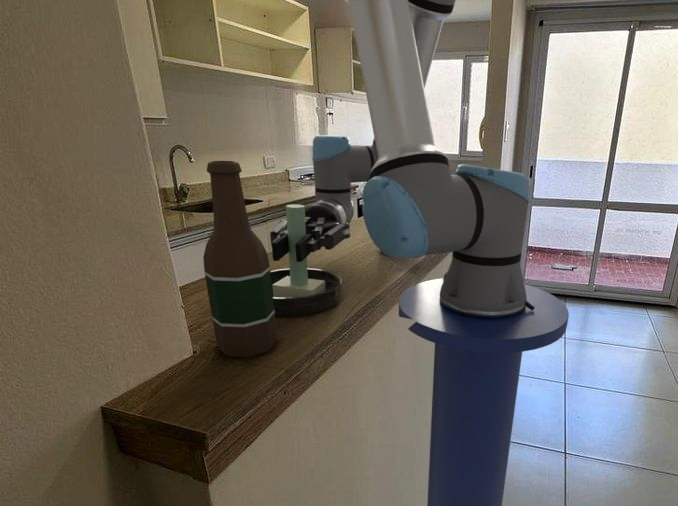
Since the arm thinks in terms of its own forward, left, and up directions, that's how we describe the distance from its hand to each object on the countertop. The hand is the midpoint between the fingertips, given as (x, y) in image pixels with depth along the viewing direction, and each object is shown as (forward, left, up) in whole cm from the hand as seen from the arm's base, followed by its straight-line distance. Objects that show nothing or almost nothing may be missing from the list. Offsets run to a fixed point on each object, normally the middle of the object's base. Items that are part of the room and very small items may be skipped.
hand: (286, 252), depth 67 cm
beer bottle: (+1, +11, -11) cm, 15 cm away
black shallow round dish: (+3, -7, -10) cm, 13 cm away
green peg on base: (+1, -5, -9) cm, 11 cm away
